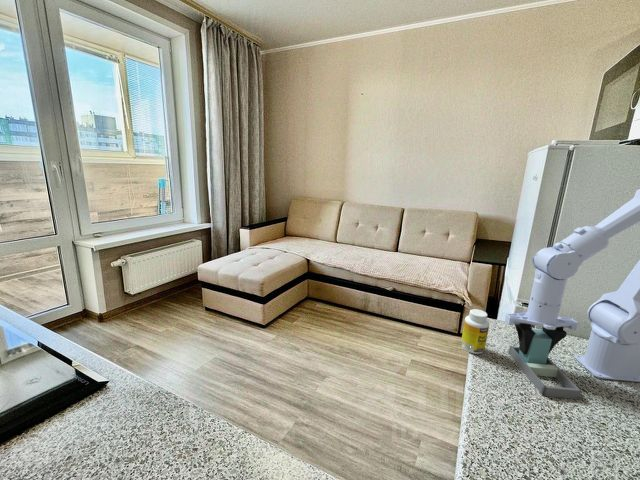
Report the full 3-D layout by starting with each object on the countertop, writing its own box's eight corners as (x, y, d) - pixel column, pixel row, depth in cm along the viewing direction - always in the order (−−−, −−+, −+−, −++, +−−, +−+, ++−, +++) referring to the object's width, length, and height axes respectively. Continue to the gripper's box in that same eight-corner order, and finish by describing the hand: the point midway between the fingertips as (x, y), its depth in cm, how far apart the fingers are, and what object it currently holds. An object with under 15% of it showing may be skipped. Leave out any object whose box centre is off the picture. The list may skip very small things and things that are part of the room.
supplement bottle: (476, 357, 75) (483, 320, 72) (456, 346, 79) (461, 310, 77) (488, 350, 78) (495, 314, 75) (468, 340, 82) (474, 305, 80)
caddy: (538, 355, 76) (539, 348, 76) (578, 399, 62) (581, 390, 62) (508, 353, 77) (509, 346, 77) (542, 395, 63) (544, 387, 63)
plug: (534, 358, 75) (541, 329, 73) (544, 369, 71) (552, 339, 69) (517, 357, 75) (524, 328, 73) (526, 367, 72) (533, 337, 70)
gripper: (520, 306, 66) (509, 360, 69) (593, 311, 65) (577, 366, 68) (505, 292, 73) (495, 342, 76) (570, 296, 71) (557, 347, 75)
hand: (533, 352), depth 73 cm, fingers closed on plug, 4 cm apart
